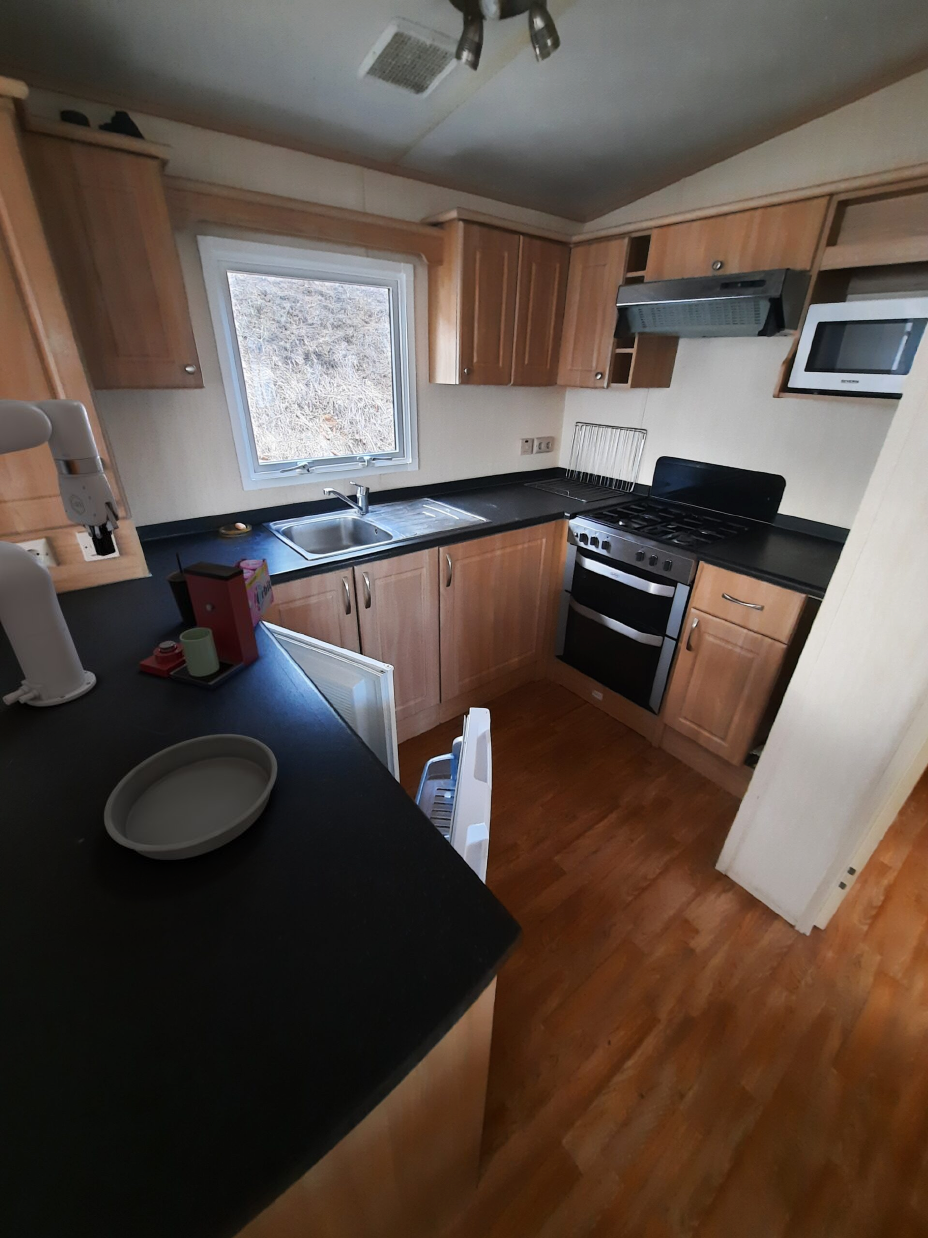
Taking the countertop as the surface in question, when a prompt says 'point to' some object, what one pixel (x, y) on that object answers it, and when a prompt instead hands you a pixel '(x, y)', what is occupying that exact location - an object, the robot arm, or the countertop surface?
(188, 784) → the cake pan
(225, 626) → the coffee maker
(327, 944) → the countertop surface
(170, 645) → the button
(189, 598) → the drinking cup
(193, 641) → the cup
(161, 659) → the button block
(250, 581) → the gum box
